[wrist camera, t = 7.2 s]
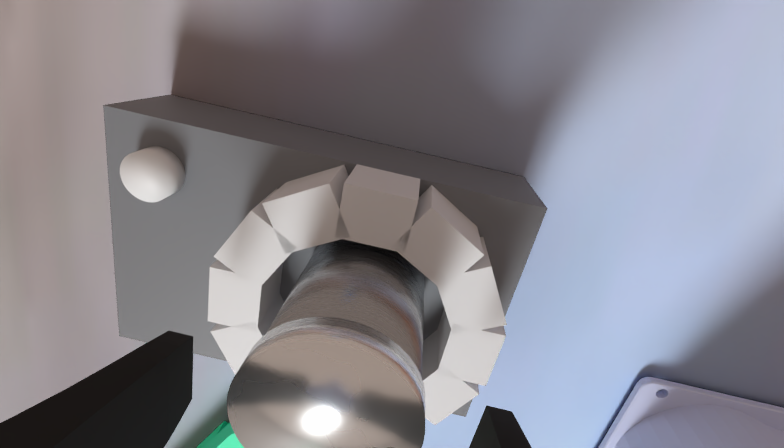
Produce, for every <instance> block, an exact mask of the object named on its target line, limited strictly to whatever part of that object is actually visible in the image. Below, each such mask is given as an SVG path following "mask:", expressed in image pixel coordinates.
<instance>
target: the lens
mask: <svg viewBox="0 0 784 448" xmlns="http://www.w3.org/2000/svg"><path fill="white" fill-rule="evenodd" d="M424 288H425V275H424V274H423V273H422V272H420V271H419V270H418V269H417V268H416V267H415V266H413V265H412V264H411V263H410V262H409V261H408V260H406V259H405V258H404V257H403V256H402V255H400V254H399V253H398V252H397V251H393V250H388V249H384V248H380V247H375V246H371V245H367V244H362V243H358V242H354V241H350V240H345V239H340V240H336V241H333V242H329V243H325V244H321V245H319V246H318V247H317V248H316V250H315V252H314V253H313V255H312V257H311V258H310V260H309V262H308V263H307V265H306V267H305V268H304V270H303V272H302V273H301V275H300V277H299V279H298V280H297V282H296V284H295V285H294V287H293V289H292V290H291V292H290V294H289V295H288V297H287V299H286V300H285V302H284V304H283V305H282V307H281V309H280V311H279V312H278V314H277V316H276V317H275V319H274V321H273V322H272V324H271V326H270V327H269V329H268V331H267V332H266V334H265V335H263V336H262V337H261V338H260V339H259V340H258V341H257V342H256V344H255V345H254V346H253V348H252V349H251V350H250V352H249V354H248V355H247V357H246V359H245V360H244V362H243V364H242V365H241V367H240V368H239V370H238V372H237V373H236V375H235V377H234V379H233V381H232V383H231V385H230V388H229V392H228V397H227V412H228V417H229V421H230V424H231V427H232V429H233V431H234V433H235V435H236V437H237V438H238V440H239V442H240V443H241V444H242V446H243V447H244V448H421V447H422V444H423V441H424V435H425V388H424V383H423V380H422V352H423V320H424Z"/></svg>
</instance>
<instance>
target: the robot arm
mask: <svg viewBox="0 0 784 448" xmlns="http://www.w3.org/2000/svg"><path fill="white" fill-rule="evenodd" d="M192 372H193V336H190V335H186V334H182V333H177V332H173V331H167V332H165V333H163V334H162V335H160V336H158V337H156V338H155V339H153V340H151V341H149V342H148V343H146V344H144V345H142V346H141V347H139V348H137V349H136V350H134V351H132V352H130V353H129V354H127V355H125V356H124V357H122V358H120V359H118V360H117V361H115V362H113V363H111V364H110V365H108V366H106V367H105V368H103V369H101V370H99V371H97V372H96V373H94V374H92V375H90V376H89V377H87V378H85V379H83V380H81V381H80V382H78V383H76V384H74V385H73V386H71V387H69V388H67V389H65V390H63V391H62V392H60V393H58V394H56V395H54V396H52V397H50V398H48V399H46V400H44V401H42V402H41V403H39V404H37V405H35V406H33V407H31V408H29V409H27V410H25V411H23V412H21V413H19V414H18V415H16V416H14V417H12V418H10V419H8V420H6V421H4V422H2V423H0V448H164V446H165V445H166V443H167V442H168V440H169V439H170V437H171V435H172V434H173V432H174V430H175V428H176V427H177V425H178V423H179V421H180V420H181V418H182V416H183V414H184V412H185V411H186V409H187V407H188V405H189V403H190V401H191V400H192ZM661 389H662V390H661ZM658 390H661V391H658ZM469 448H531V446H530V444H529V442H528V440H527V438H526V437H525V435H524V433H523V431H522V429H521V427H520V426H519V424H518V422H517V420H516V418H515V416H514V415H513V413H512V412H511V411H507V410H503V409H499V408H494V407H490V406H486V408H485V411H484V413H483V416H482V418H481V420H480V423H479V425H478V428H477V430H476V432H475V435H474V437H473V440H472V442H471V445H470V447H469ZM598 448H784V408H783V407H778V406H774V405H770V404H766V403H761V402H757V401H753V400H748V399H744V398H740V397H736V396H731V395H727V394H723V393H718V392H714V391H710V390H705V389H701V388H697V387H693V386H688V385H684V384H680V383H675V382H671V381H667V380H663V379H658V378H654V377H645V378H642V379H640V380H639V381H638V382H637V384H636V385H635V387H634V389H633V390H632V392H631V394H630V395H629V397H628V399H627V400H626V402H625V404H624V405H623V407H622V409H621V410H620V412H619V414H618V415H617V417H616V419H615V420H614V422H613V424H612V425H611V427H610V429H609V430H608V432H607V434H606V435H605V437H604V439H603V441H602V442H601V444H600V446H599V447H598Z"/></svg>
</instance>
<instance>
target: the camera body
mask: <svg viewBox="0 0 784 448" xmlns="http://www.w3.org/2000/svg"><path fill="white" fill-rule="evenodd" d="M103 107H104V121H105V136H106V151H107V165H108V180H109V194H110V209H111V223H112V238H113V252H114V267H115V282H116V296H117V311H118V325H119V336H121V337H126V338H130V339H134V340H139V341H143V342H147V343H148V342H149V341H151V340H153V339H155V338H156V337H158V336H160V335H162V334H163V333H165V332H167V331H173V332H177V333H182V334H186V335H190V336H193V353H194V354H199V355H203V356H207V357H211V358H216V359H220V360H224V361H228V363H229V365H230V367H231V368H232V370H233V372H234V374H235V375H236V373H237V372H238V370H239V368H240V367H241V365H242V364H243V362H244V360H245V359H246V357H247V355H248V354H249V352H250V350H251V349H252V348H253V346H254V345H255V344H256V342H257V341H258V340H259V339H260V338H261V337H262V336H263V335H265V334H266V332H267V331H268V329H269V327H270V326H271V324H272V322H273V321H274V319H275V317H276V316H277V314H278V312H279V311H280V309H281V307H282V305H283V304H284V302H285V300H286V299H287V297H288V295H289V294H290V292H291V290H292V289H293V287H294V285H295V284H296V282H297V280H298V279H299V277H300V275H301V273H302V272H303V270H304V268H305V267H306V265H307V263H308V262H309V260H310V258H311V257H312V255H313V253H314V252H315V250H316V248H317V247H318V246H319V245H321V244H325V243H329V242H333V241H336V240H340V239H345V240H350V241H354V242H358V243H362V244H367V245H371V246H375V247H380V248H384V249H388V250H393V251H397V252H398V253H399V254H400V255H402V256H403V257H404V258H405V259H406V260H408V261H409V262H410V263H411V264H412V265H413V266H415V267H416V268H417V269H418V270H419V271H420V272H422V273H423V274H424V275H425V288H424V320H423V352H422V380H423V383H424V388H425V418H426V419H427V420H429V421H430V422H431V423H433V424H434V425H436V424H437V423H439V422H440V421H442V420H443V419H445V418H446V417H447V416H449V415H450V414H456V415H460V416H465V417H466V414H467V412H468V409H469V407H470V404H471V402H472V399H473V398H474V397H476V396H477V395H479V390H478V384H479V385H484V386H486V384H487V382H488V379H489V377H490V374H491V372H492V369H493V367H494V365H495V362H496V360H497V357H498V355H499V352H500V350H501V347H502V345H503V342H504V340H505V337H506V334H505V330H504V326H503V325H507V324H506V320H505V315H506V312H507V310H508V307H509V305H510V302H511V300H512V297H513V295H514V292H515V289H516V287H517V284H518V282H519V279H520V277H521V274H522V272H523V269H524V266H525V264H526V261H527V259H528V256H529V254H530V251H531V249H532V246H533V244H534V241H535V238H536V236H537V233H538V231H539V228H540V226H541V223H542V221H543V218H544V216H545V213H546V210H547V207H546V206H545V205H544V203H543V202H542V201H541V199H540V198H539V197H538V195H537V194H536V193H535V191H534V190H533V189H532V187H531V186H530V185H529V183H528V182H527V181H526V179H525V178H524V177H522V176H518V175H513V174H509V173H505V172H501V171H496V170H492V169H488V168H483V167H479V166H475V165H470V164H466V163H462V162H458V161H453V160H449V159H445V158H440V157H436V156H432V155H427V154H423V153H419V152H415V151H410V150H406V149H402V148H397V147H393V146H389V145H384V144H380V143H376V142H372V141H367V140H363V139H359V138H354V137H350V136H346V135H341V134H337V133H333V132H329V131H324V130H320V129H316V128H311V127H307V126H303V125H298V124H294V123H290V122H286V121H281V120H277V119H273V118H268V117H264V116H260V115H255V114H251V113H247V112H243V111H238V110H234V109H230V108H225V107H221V106H217V105H212V104H208V103H204V102H200V101H195V100H191V99H187V98H182V97H178V96H174V95H165V96H159V97H153V98H146V99H140V100H134V101H127V102H121V103H114V104H108V105H103Z"/></svg>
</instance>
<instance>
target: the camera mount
mask: <svg viewBox="0 0 784 448" xmlns="http://www.w3.org/2000/svg"><path fill="white" fill-rule="evenodd" d="M196 448H244V447H243V446H242V444H241V443H240V442H239V440H238V438H237V437H236V435H235V433H234V431H233V429H232V427H231V424H230V423H227V422H226V421H224V422H223V423H222V424H220V425H219V426H218V427H217V428H216V429H215V430H214V431H213V432H212V433H211V434H210V435H209V436H208V437H207V438H206V439H205V440H204V441H203V442H202V443H200V444H199V445H198V446H197V447H196Z"/></svg>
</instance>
